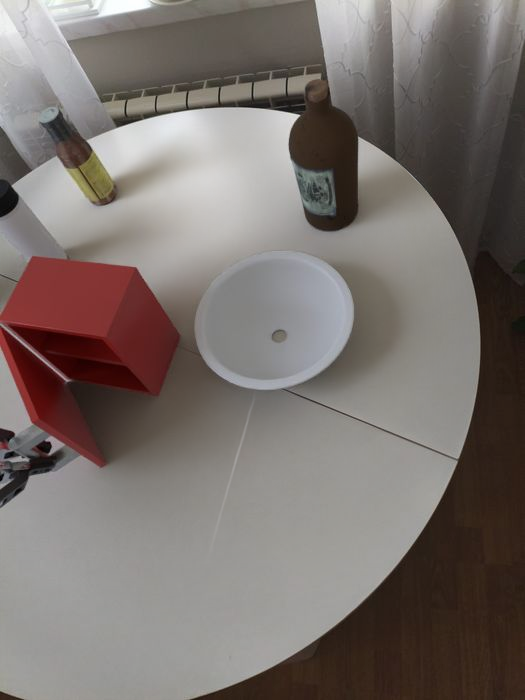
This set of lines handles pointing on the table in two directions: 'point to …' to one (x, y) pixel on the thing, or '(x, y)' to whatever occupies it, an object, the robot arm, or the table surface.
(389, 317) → the table surface
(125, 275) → the cabinet
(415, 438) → the table surface
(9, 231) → the travel mug
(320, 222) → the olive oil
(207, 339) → the white sink basin
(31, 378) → the red cabinet door
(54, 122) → the sauce bottle
